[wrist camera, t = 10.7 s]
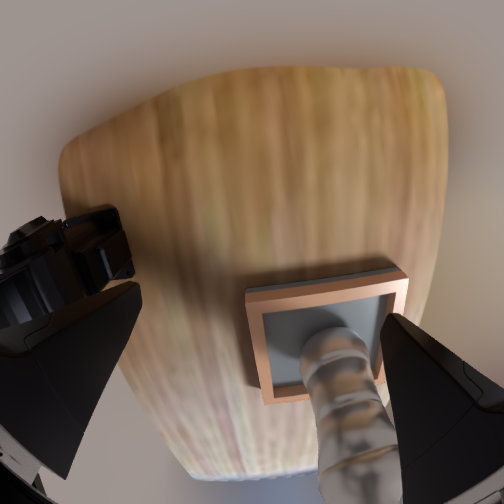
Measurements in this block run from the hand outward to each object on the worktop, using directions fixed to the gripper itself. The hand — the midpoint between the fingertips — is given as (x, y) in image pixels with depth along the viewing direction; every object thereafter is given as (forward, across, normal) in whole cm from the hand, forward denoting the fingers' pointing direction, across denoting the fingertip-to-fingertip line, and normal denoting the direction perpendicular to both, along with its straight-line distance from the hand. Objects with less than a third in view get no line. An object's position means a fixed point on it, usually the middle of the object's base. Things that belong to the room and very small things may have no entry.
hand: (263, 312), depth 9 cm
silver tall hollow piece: (+13, -7, +12) cm, 19 cm away
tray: (+13, -7, +13) cm, 20 cm away
